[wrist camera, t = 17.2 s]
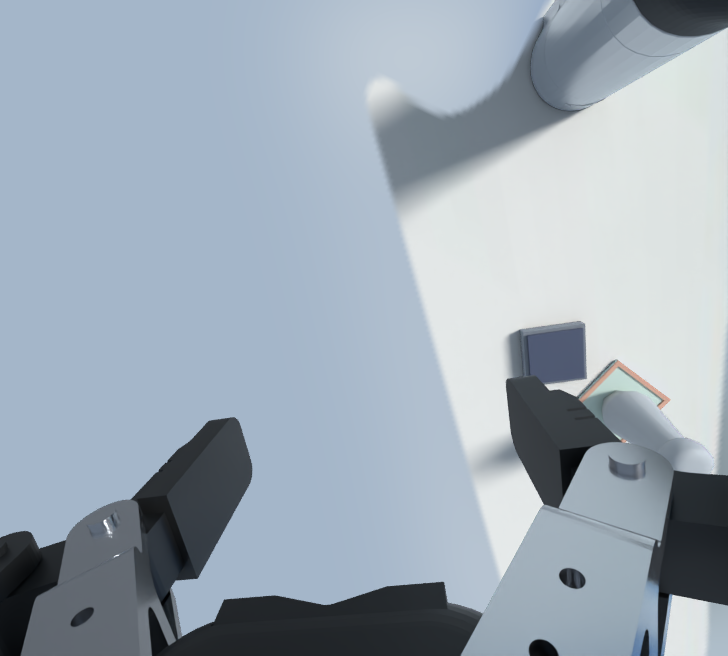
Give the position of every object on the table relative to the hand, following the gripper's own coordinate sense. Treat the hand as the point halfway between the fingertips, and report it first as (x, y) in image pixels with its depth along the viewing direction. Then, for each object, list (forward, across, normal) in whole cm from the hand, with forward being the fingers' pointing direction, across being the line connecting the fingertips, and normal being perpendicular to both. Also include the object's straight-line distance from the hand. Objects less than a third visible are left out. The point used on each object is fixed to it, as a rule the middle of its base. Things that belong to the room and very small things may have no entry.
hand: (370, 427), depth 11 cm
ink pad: (+37, -18, +14) cm, 43 cm away
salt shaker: (+36, -25, +22) cm, 49 cm away
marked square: (+37, -25, +22) cm, 49 cm away
